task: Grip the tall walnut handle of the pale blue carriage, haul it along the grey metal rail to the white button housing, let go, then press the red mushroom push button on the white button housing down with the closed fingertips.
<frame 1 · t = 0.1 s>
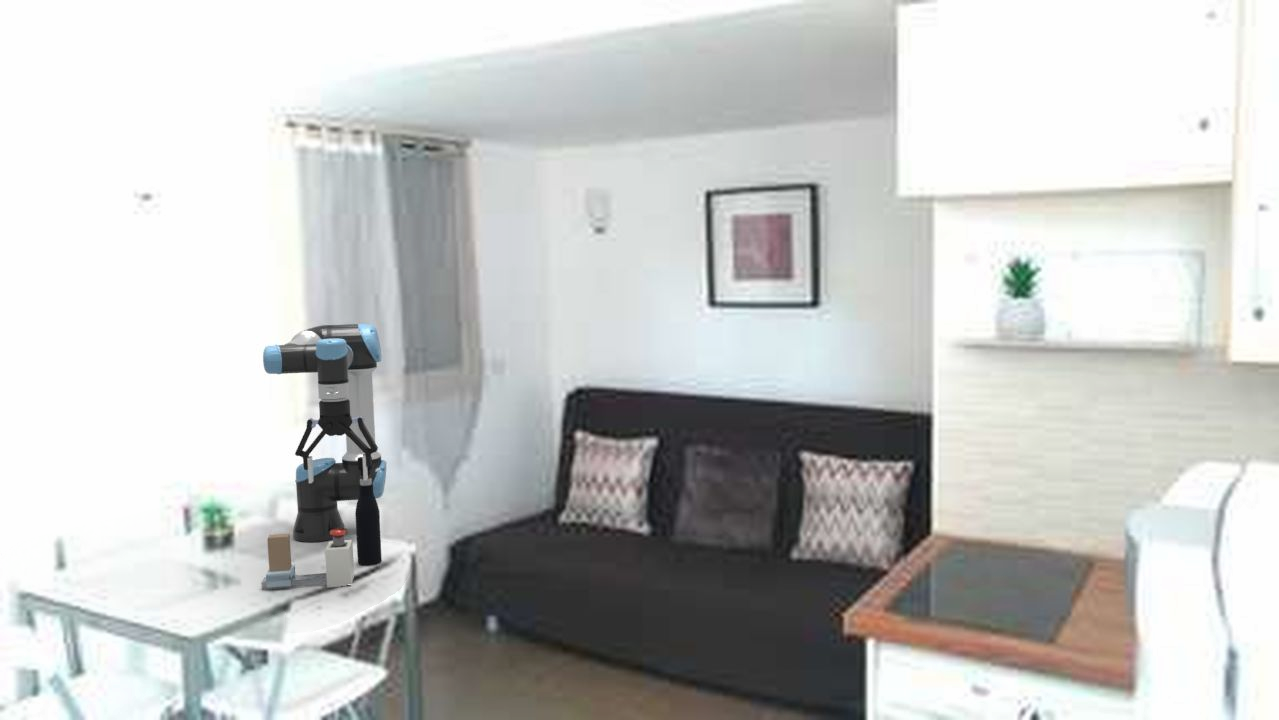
hand: (338, 480, 254), 28 cm above the table, fingers open, 13 cm apart
rail: (296, 584, 258), on the table
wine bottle: (369, 563, 276), on the table
red mushroom push button: (338, 543, 259), point 10 cm above the table, slide at 0.0 cm
carriage: (279, 559, 257), point 7 cm above the table, slide at 0.0 cm
white button housing: (340, 581, 260), on the table
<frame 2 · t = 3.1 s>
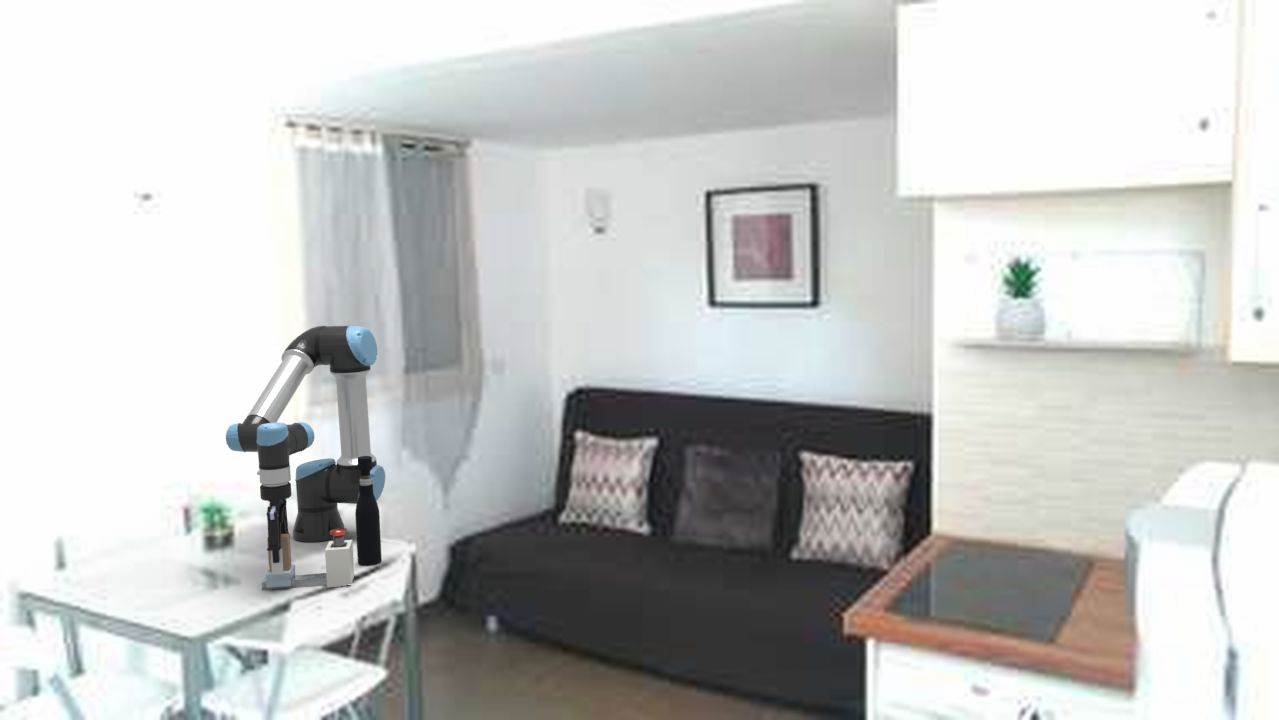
hand: (280, 569, 257), 5 cm above the table, fingers closed on carriage, 7 cm apart
carriage: (279, 559, 257), point 7 cm above the table, slide at 0.0 cm, touching gripper
everything else where it was.
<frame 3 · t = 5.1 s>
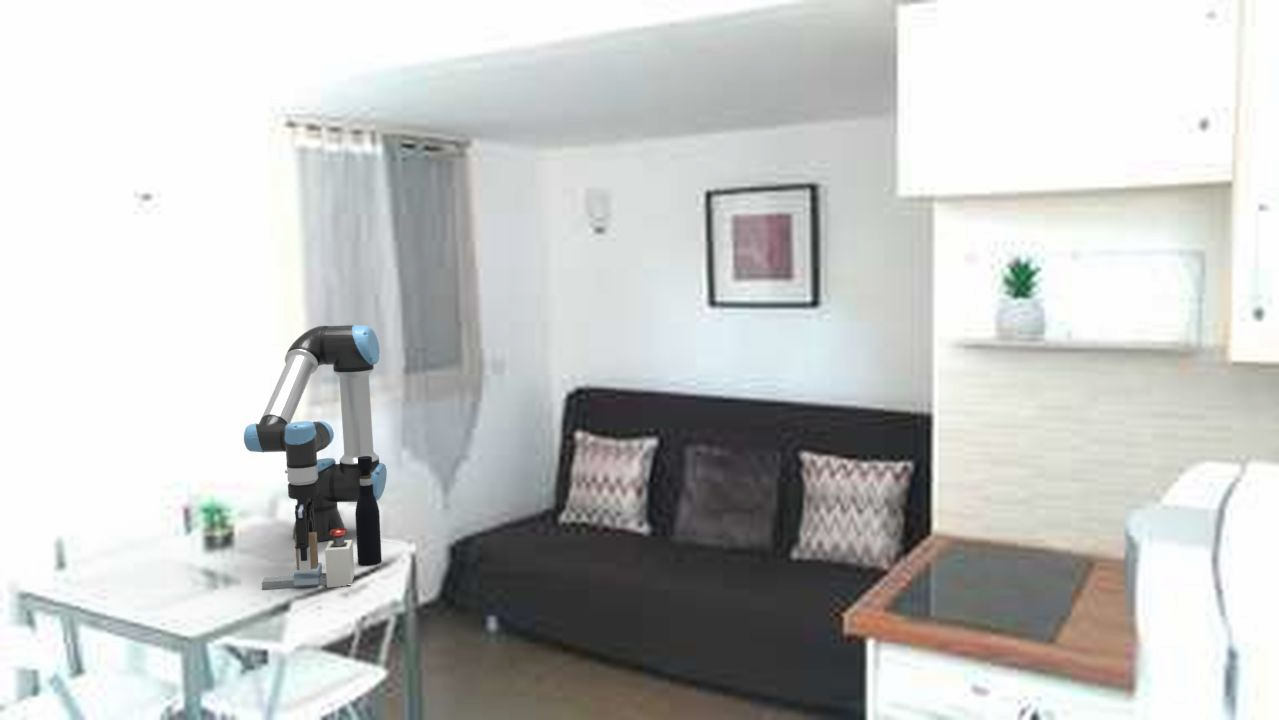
hand: (307, 567, 258), 5 cm above the table, fingers closed on carriage, 7 cm apart
carriage: (307, 557, 258), point 7 cm above the table, slide at 6.8 cm, touching gripper
everything else where it was.
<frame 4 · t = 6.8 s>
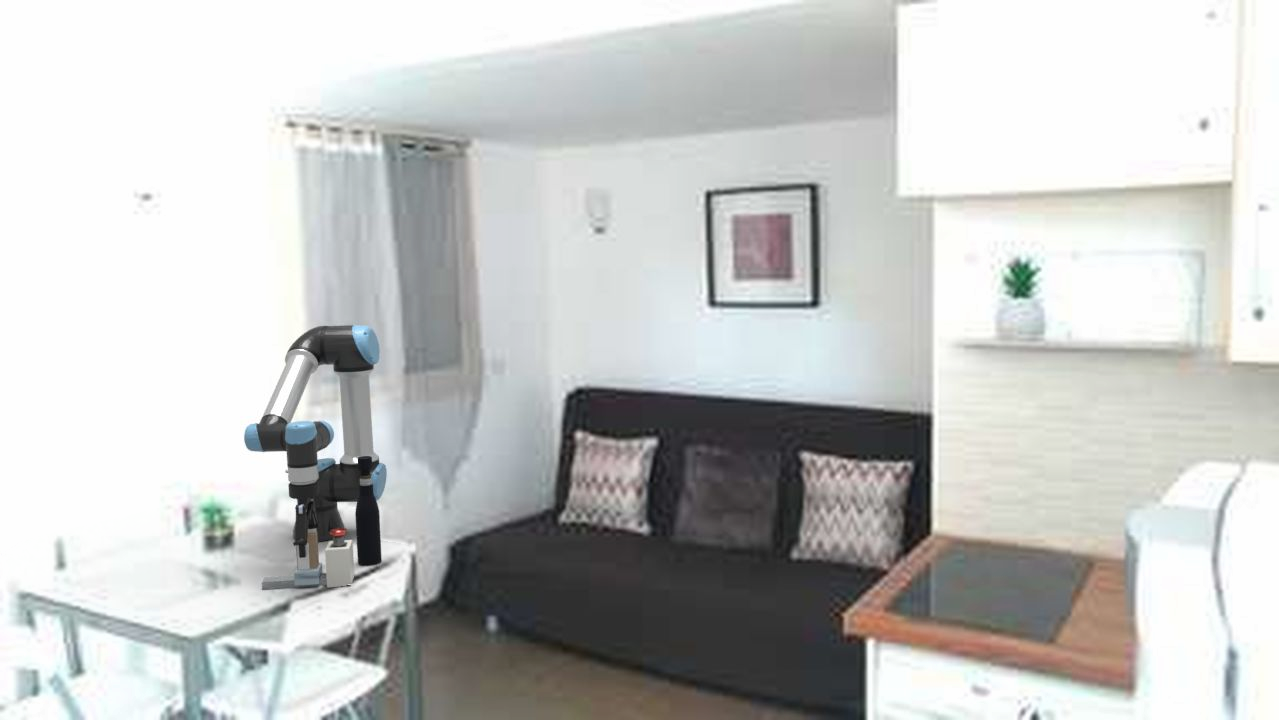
hand: (308, 560, 258), 6 cm above the table, fingers open, 13 cm apart
carriage: (307, 557, 258), point 7 cm above the table, slide at 7.0 cm
everything else where it was.
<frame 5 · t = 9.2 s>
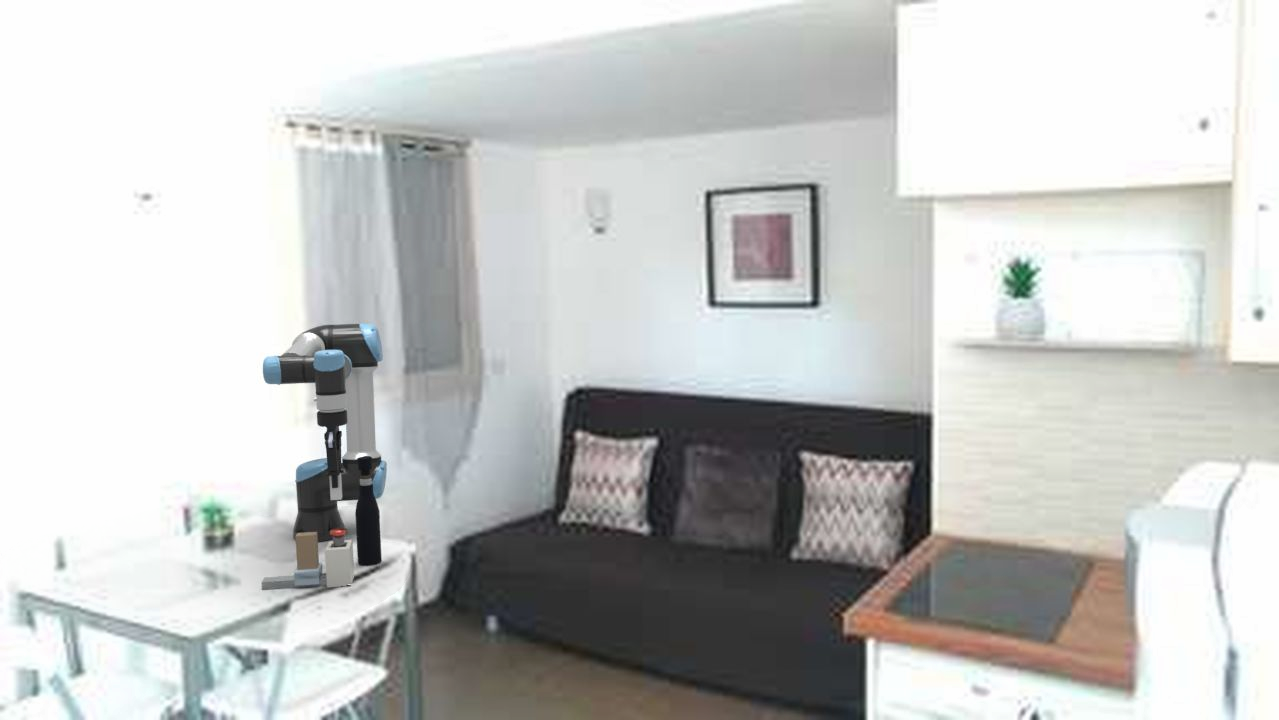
hand: (336, 498, 257), 22 cm above the table, fingers closed
nothing on the table moved.
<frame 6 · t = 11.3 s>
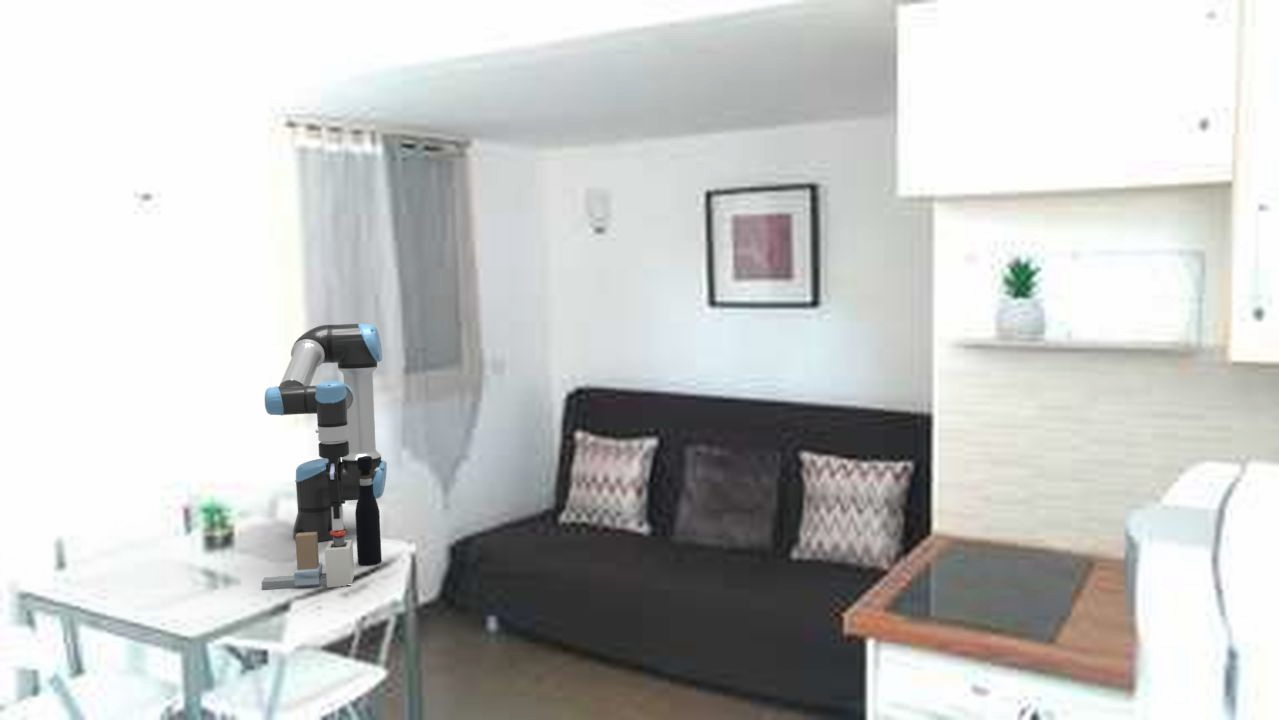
hand: (338, 529, 258), 14 cm above the table, fingers closed
red mushroom push button: (338, 543, 259), point 10 cm above the table, slide at 0.1 cm, touching gripper
everything else where it was.
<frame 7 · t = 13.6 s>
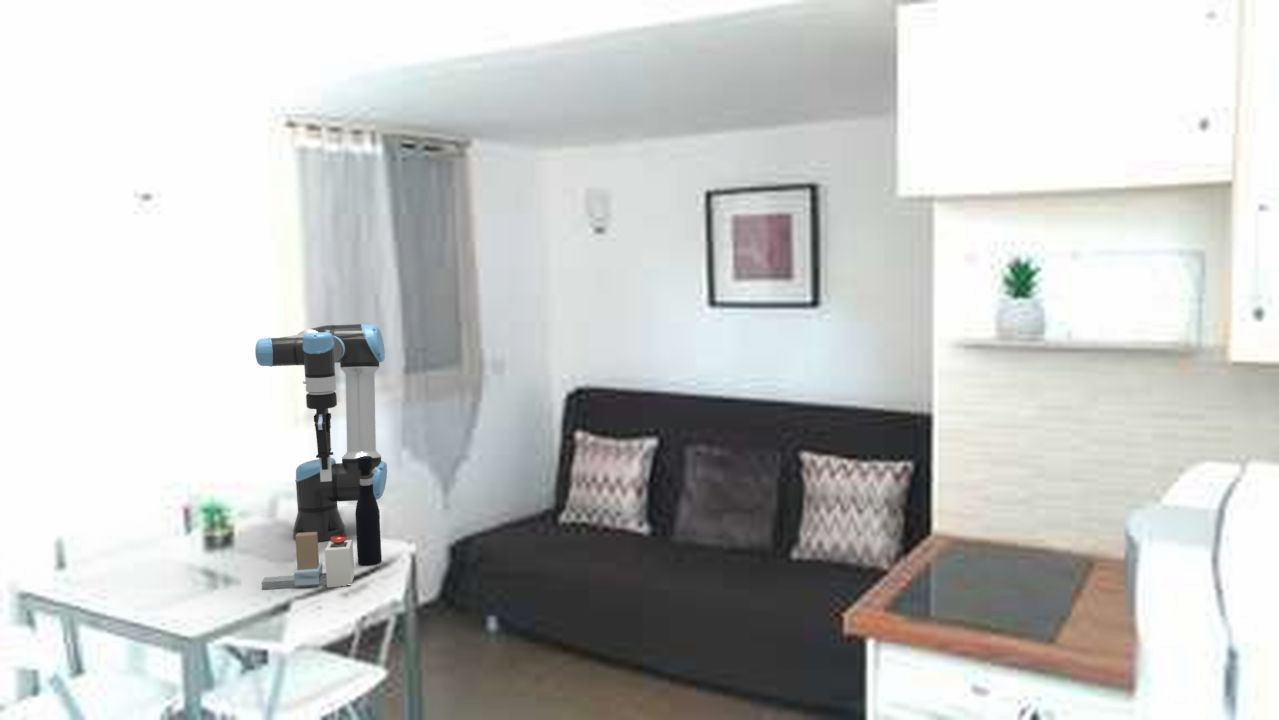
hand: (326, 480, 259), 27 cm above the table, fingers closed
red mushroom push button: (339, 549, 259), point 9 cm above the table, slide at 1.8 cm
everything else where it was.
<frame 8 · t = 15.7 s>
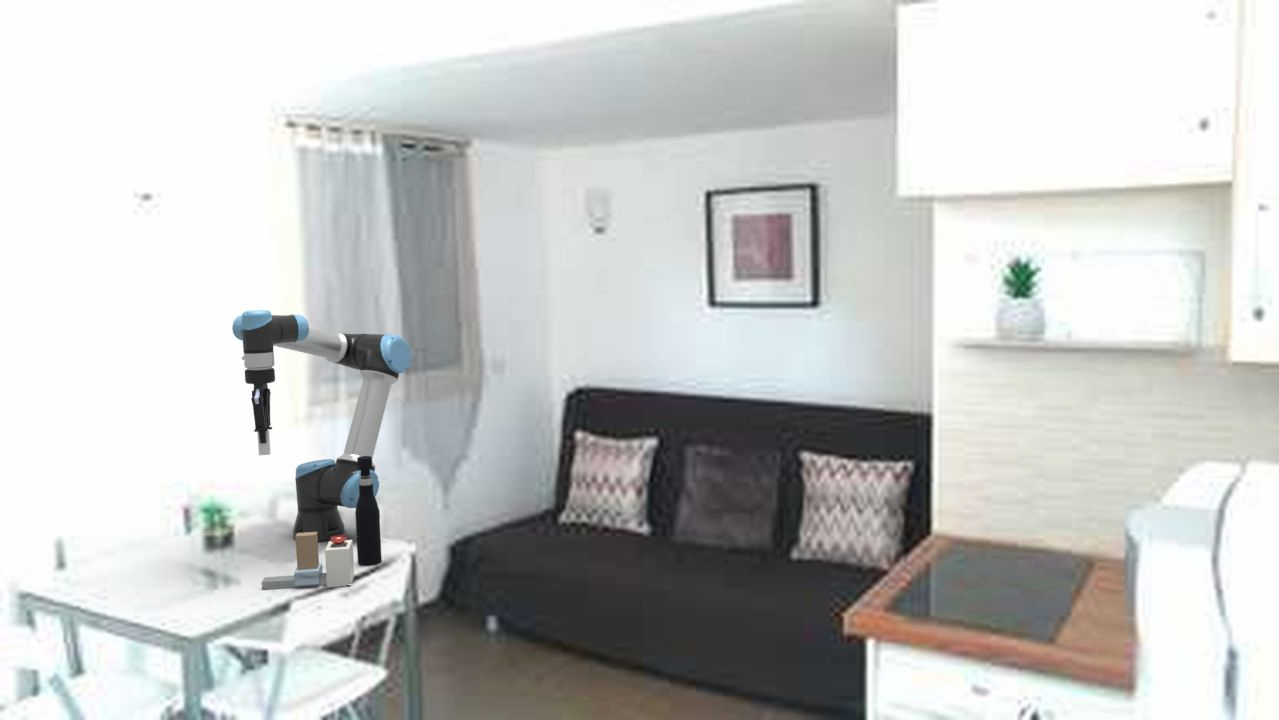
hand: (264, 454, 267), 32 cm above the table, fingers closed
nothing on the table moved.
at the end: carriage slide at 7.0 cm; red mushroom push button slide at 1.8 cm; the gripper is holding nothing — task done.
